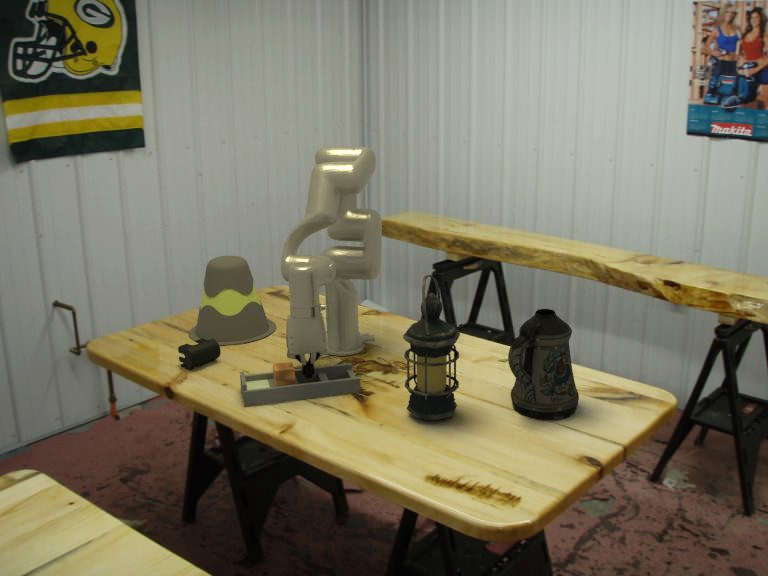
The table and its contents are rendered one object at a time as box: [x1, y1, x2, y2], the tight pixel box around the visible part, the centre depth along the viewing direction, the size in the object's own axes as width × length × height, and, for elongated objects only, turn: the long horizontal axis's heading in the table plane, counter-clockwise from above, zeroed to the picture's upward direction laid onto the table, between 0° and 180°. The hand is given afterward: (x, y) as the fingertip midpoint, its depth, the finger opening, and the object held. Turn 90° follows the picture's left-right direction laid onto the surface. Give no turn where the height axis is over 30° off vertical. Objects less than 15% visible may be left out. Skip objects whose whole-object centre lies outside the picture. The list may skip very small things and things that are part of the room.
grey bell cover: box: [188, 255, 277, 346], centre depth 250 cm, size 28×28×24 cm
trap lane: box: [239, 362, 361, 408], centre depth 205 cm, size 30×11×6 cm, turn 104°
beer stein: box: [507, 308, 580, 421], centre depth 189 cm, size 16×19×25 cm
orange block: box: [272, 361, 295, 387], centre depth 204 cm, size 5×5×5 cm
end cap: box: [177, 338, 222, 370], centre depth 225 cm, size 10×7×7 cm
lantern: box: [402, 274, 461, 421], centre depth 186 cm, size 14×13×35 cm
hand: (308, 376), depth 206 cm, fingers closed
